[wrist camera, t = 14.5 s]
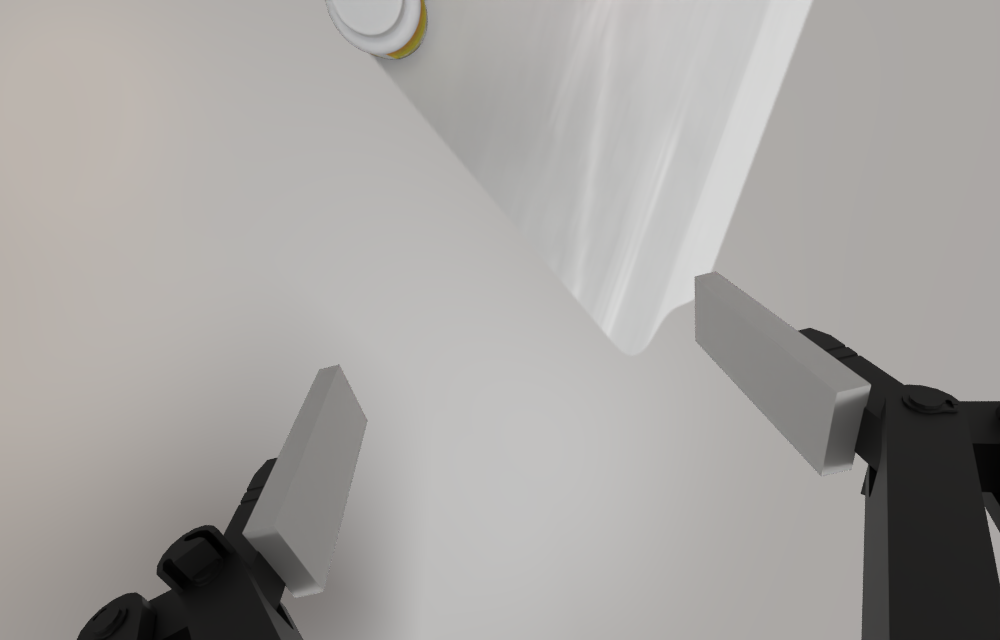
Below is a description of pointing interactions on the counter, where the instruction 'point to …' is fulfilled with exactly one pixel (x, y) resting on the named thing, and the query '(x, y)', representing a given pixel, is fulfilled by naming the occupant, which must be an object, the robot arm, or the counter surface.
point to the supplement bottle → (381, 25)
